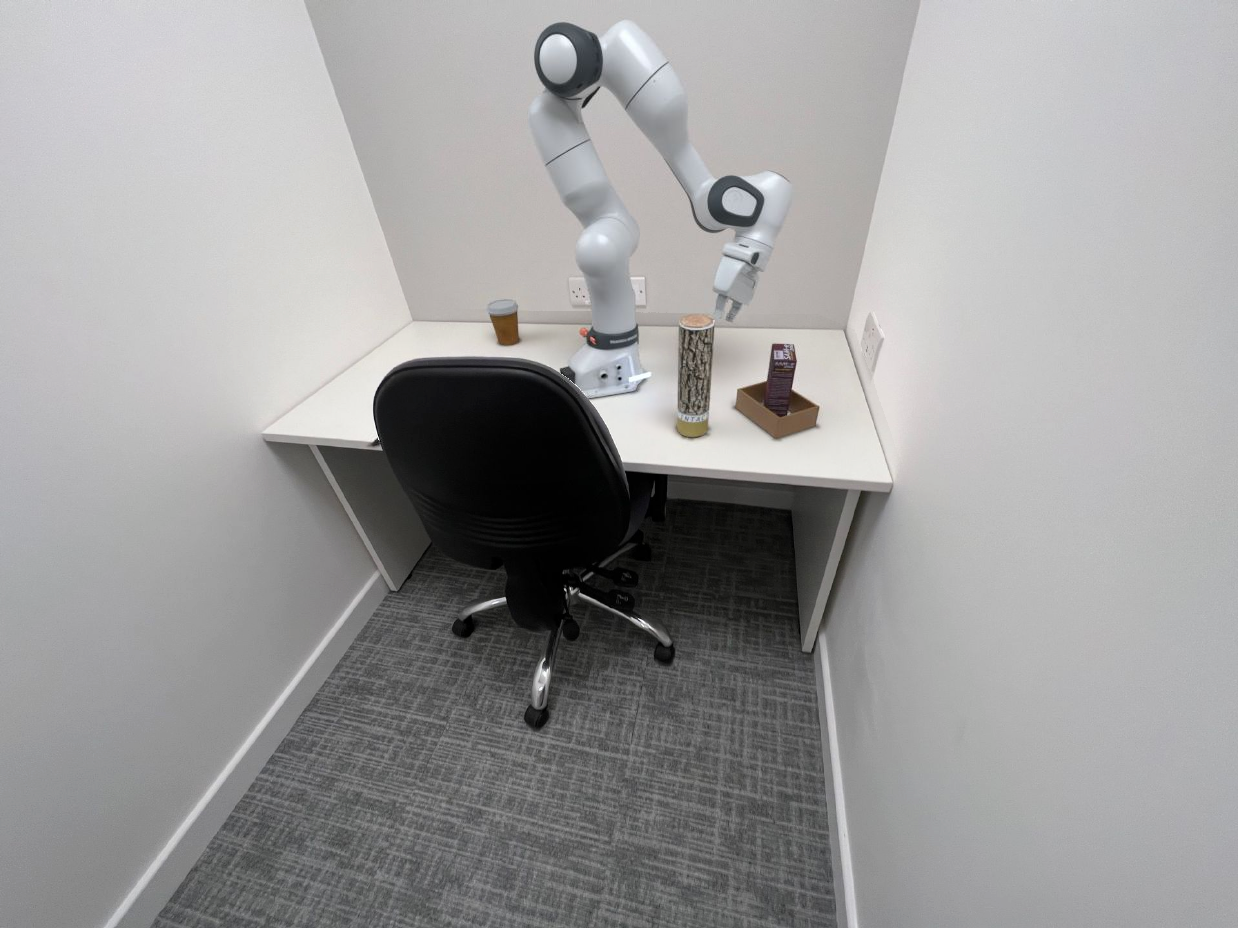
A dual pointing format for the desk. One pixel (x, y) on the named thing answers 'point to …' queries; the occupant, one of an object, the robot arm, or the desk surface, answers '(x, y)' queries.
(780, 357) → the supplement box
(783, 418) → the cardboard box
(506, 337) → the disposable coffee cup
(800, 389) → the desk surface
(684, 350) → the paper tube
